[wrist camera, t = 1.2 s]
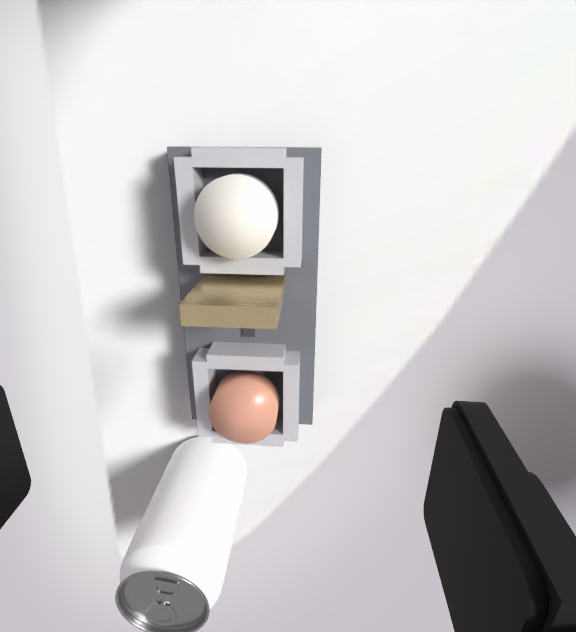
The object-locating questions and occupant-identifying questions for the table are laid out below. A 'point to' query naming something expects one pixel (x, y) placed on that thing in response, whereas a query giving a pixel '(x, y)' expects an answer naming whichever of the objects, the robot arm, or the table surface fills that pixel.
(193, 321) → the thick plank
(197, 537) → the can
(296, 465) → the table surface
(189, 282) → the panel
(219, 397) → the terracotta button
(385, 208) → the table surface
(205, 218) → the cream button
